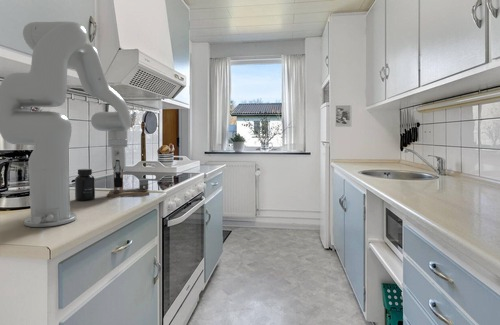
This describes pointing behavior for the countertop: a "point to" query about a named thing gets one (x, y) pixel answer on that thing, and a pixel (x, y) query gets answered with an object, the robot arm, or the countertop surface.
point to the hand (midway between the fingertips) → (118, 185)
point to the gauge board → (132, 190)
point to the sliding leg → (122, 182)
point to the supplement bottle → (84, 185)
